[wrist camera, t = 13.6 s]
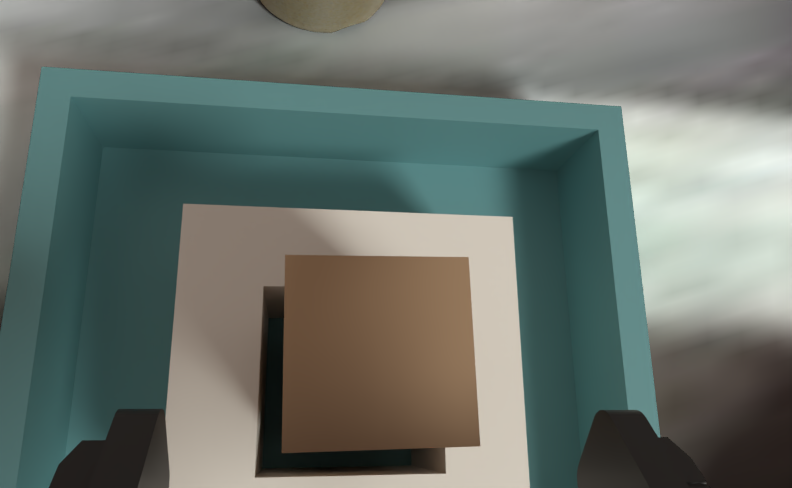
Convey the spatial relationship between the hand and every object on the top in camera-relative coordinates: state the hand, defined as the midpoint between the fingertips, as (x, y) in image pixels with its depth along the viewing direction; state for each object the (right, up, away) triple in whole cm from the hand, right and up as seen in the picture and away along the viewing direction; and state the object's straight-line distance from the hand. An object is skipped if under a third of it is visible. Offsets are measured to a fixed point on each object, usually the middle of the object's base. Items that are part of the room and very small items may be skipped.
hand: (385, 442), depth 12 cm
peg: (-2, -2, +11) cm, 12 cm away
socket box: (-2, -2, +12) cm, 12 cm away
